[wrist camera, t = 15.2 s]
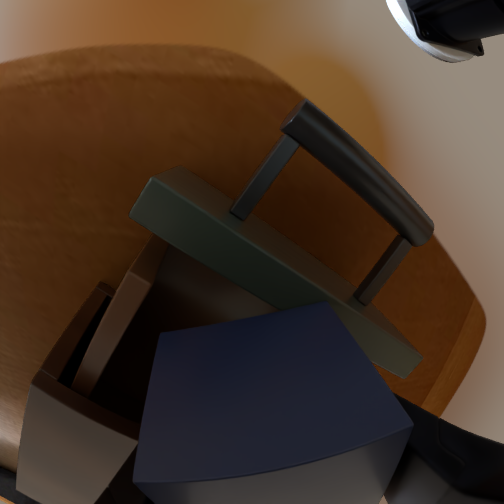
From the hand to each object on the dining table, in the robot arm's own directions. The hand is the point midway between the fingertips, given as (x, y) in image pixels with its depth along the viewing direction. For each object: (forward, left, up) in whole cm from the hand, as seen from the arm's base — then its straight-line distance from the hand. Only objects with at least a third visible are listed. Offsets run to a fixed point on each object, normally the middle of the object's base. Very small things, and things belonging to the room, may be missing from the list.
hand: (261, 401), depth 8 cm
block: (0, 0, -1) cm, 1 cm away
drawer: (+1, +1, -8) cm, 8 cm away
